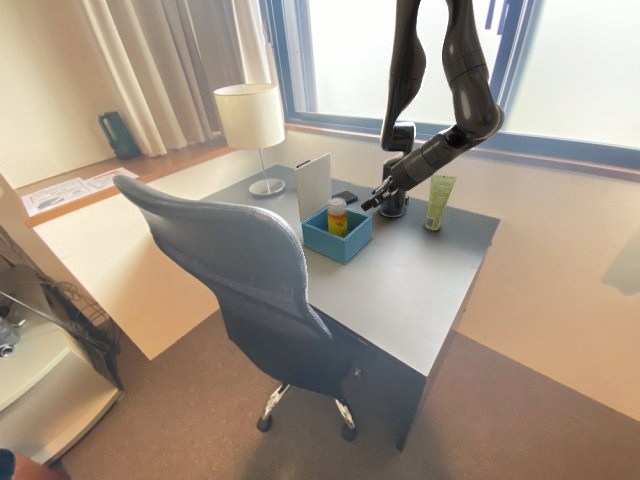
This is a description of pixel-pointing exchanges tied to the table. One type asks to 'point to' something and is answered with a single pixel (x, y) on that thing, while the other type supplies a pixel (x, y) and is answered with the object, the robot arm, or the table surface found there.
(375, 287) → the table surface
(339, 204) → the beer can
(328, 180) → the lid
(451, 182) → the tube
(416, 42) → the robot arm
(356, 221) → the blue open box
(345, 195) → the smart home device
